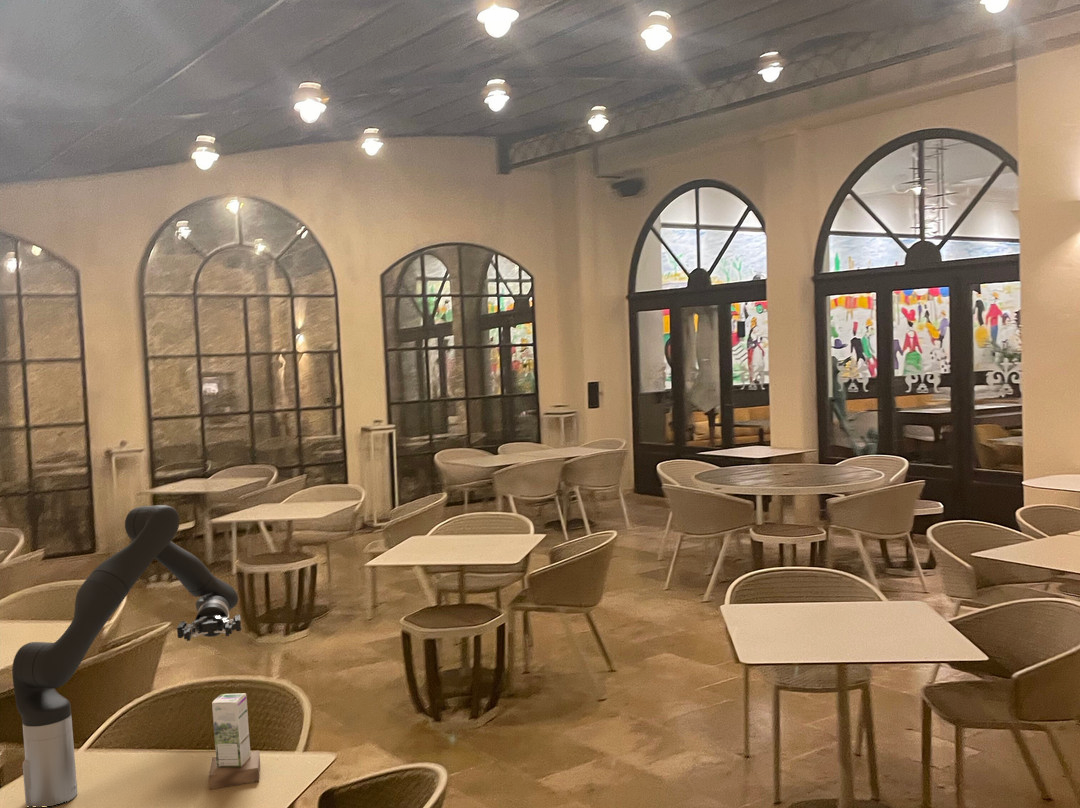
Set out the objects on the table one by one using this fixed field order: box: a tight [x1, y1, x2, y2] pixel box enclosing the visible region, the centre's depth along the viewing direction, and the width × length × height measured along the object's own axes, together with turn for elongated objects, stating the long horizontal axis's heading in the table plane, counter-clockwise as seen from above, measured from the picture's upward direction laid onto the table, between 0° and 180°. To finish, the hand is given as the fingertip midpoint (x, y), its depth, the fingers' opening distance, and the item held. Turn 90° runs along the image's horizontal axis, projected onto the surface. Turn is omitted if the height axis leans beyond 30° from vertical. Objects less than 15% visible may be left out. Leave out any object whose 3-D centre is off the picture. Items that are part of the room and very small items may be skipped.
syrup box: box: [211, 692, 252, 767], centre depth 211 cm, size 6×6×14 cm
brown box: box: [208, 749, 261, 790], centre depth 211 cm, size 10×10×3 cm
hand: (207, 634), depth 223 cm, fingers open, 8 cm apart
